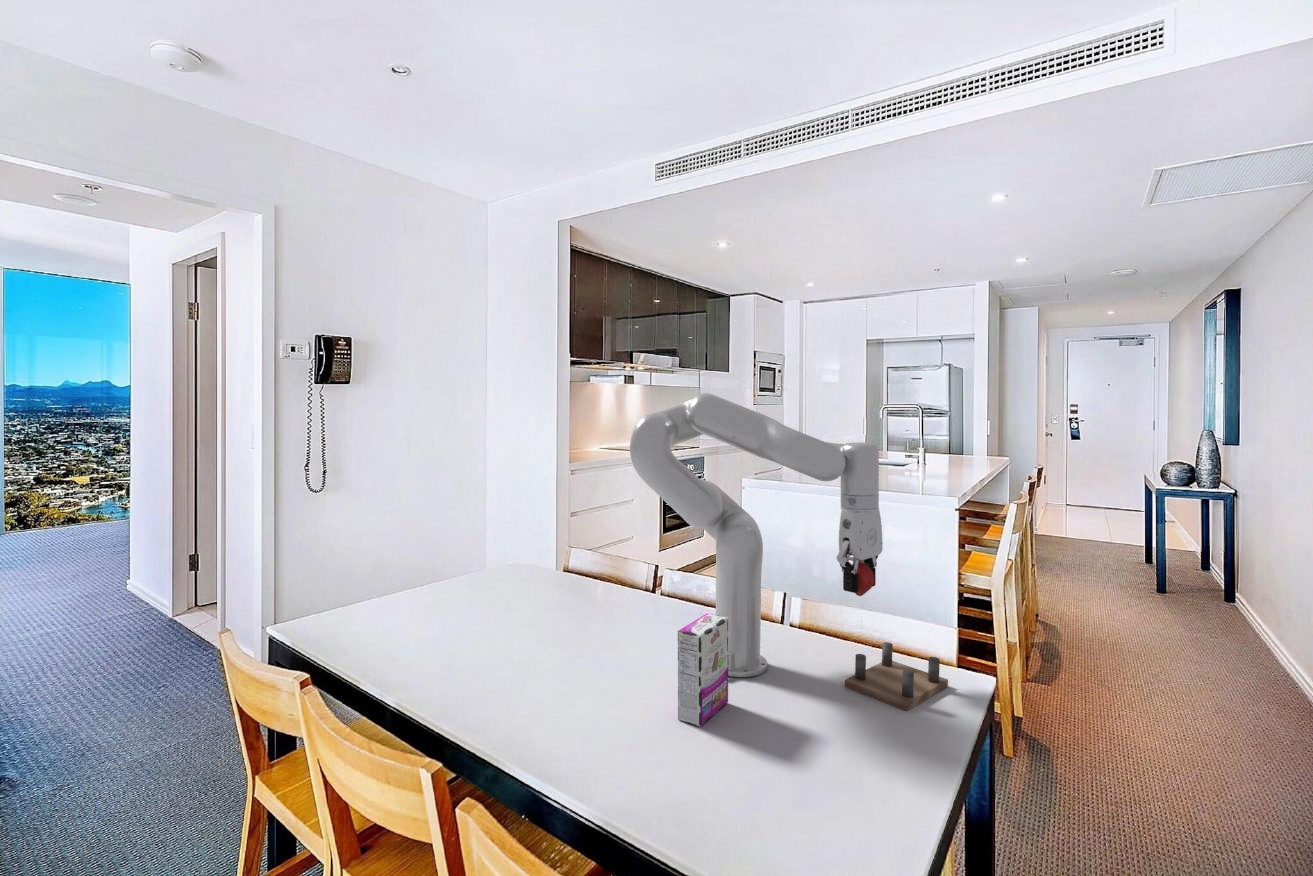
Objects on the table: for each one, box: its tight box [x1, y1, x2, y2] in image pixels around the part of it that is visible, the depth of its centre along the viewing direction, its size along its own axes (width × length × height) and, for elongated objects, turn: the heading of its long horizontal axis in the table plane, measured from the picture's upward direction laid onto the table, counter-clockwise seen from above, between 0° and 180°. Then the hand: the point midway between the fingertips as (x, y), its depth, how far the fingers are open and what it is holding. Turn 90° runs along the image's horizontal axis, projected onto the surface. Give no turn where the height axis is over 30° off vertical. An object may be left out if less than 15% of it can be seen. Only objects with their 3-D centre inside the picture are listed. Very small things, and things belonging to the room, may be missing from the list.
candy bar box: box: [677, 613, 729, 728], centre depth 116 cm, size 11×5×16 cm, turn 148°
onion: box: [851, 560, 874, 597], centre depth 134 cm, size 6×6×8 cm
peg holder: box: [844, 641, 949, 712], centre depth 127 cm, size 16×13×6 cm
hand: (859, 587), depth 134 cm, fingers closed on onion, 5 cm apart
